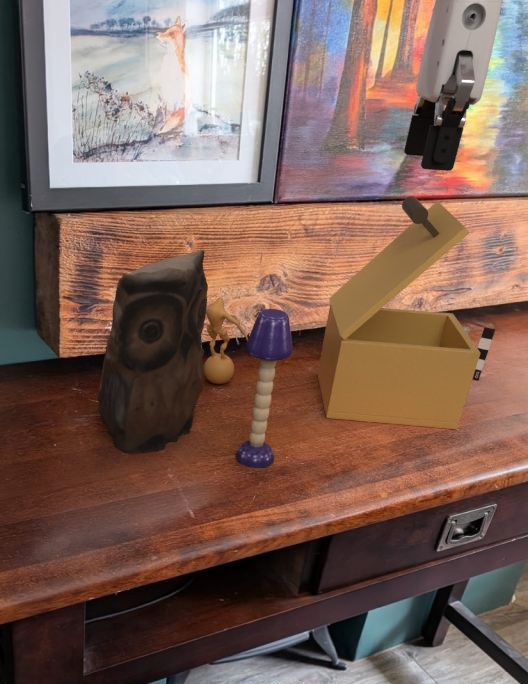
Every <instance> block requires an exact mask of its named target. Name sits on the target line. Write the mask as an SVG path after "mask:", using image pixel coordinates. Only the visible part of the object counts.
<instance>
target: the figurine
mask: <svg viewBox="0 0 528 684" xmlns="http://www.w3.org/2000/svg"><path fill="white" fill-rule="evenodd" d="M224 304H225V302H224V298H223V297H221V296H220V297H219V296H218V297H217V299H216V300H215V301H214V302H213V303H212V304H211V305H209V306H207V307H206V317H207V320H208V323H209V324H208V325H207V327H206V331H207V333H208V336H209V337H210V338H211V340H210V341H209V347H210V353H211V355H210V356H209V357H208V358H207V359H206V360H205V362H204V364H203V365H204V369H205V371H204V376H205V378H206V379H207V380H208V382H210V383H212V384H214V385H224V384H226V383H228V382H229V381H230V380H232V377H233V376H234V373H235V365H234V362H233V360H232V359H231V358H230V357H229V355H227V354H225V352H224V351H225V350H226V349H227V347H228V344H229V341H230V336H229V334H228V329H227V328H226V327H223V324H224V321H225V319H226V320H227V321H228V322H230V323H232V324H233V325H235V326H236V329H238V331H239V332H240V333H241V334H242V335H243V336H244V337H245V339H246V342H247V341H248V339H249V336H248V334H247V333H246V331H245V330H244V328H243V327H242V325H241V324H240V322H239V321H238V320H237V319H236V318H235V317H234V316H231V315H230V314H229V312H228V311H226V309H225V307H224V306H225V305H224ZM218 335H219V338H220V340H222V341H223V343H221V345H220V351H219V353H217V352H216V351H215V349H214V348H215V346H216V340H217V337H218Z"/></svg>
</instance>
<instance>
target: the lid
mask: <svg viewBox="0 0 528 684" xmlns="http://www.w3.org/2000/svg"><path fill="white" fill-rule="evenodd" d="M401 208H402V211H403V212H404V213H405V214H406V216H407V217H408V218H409V219H410V220H411V222H412V223H411V224H410V225H409V226H408V227H406V228H405V229H404V230H403V231H402V232H401V233H400V234H399V235H398V236H396V237H395V238H394V239H393V240H392V241H391V242H390V243H389V244H388V245H387V246H385V247H384V248H383V249H382V250H381V251H380V252H379V253H378V254H376V255H375V256H374V257H373V258H372V259H370V261H368V263H366V264H365V265H364V266H363V267H361V269H360V270H358V272H357V273H355V274H354V275H353V276H352V277H351V278H350V279H348V280H347V281H346V282H345V283H344V284H343V285H342V286H341V287H340V288H339V289H337V291H335V292H334V293H333V294H332V295H331V296H330V297H329V298H328V299H329V303H330V304H331V307H332V310H333V313H334V317H335V320H336V323H337V327H338V330H339V333H340V336H341V337H342V338H343V339H344V340H345V339H346V338H347V337H348V336H350V335H351V334H352V333H353V332H354V331H356V330H357V329H358V328H359V327H360V326H361V325H363V324H364V323H365V322H366V321H367V320H368V319H370V318H371V317H372V316H373V315H374V314H375V313H377V312H378V311H379V310H380V309H381V308H385V306H386V305H387V304H389V302H391V301H392V300H393V299H394V298H395V297H397V296H398V295H399V294H400V293H402V291H403V290H405V289H406V288H407V287H408V286H410V285H411V284H412V283H413V282H414V281H415V280H416V279H418V278H419V277H420V276H421V275H422V274H423V273H425V272H426V271H427V270H429V269H430V267H432V266H433V265H434V264H435V263H436V262H438V261H439V260H440V259H441V258H442V257H444V256H445V255H446V254H448V252H449V251H450V250H452V249H453V248H454V247H455V246H457V245H458V244H459V243H461V241H462V240H463V239H464V238H466V237H467V236H468V235H469V234H470V231H469V229H468V228H467V227H466V226H465V225H464V224H462V223H461V221H460V220H458V218H456V217H455V216H454V215H453V214H452V213H451V212H450V211H449V210H448V209H447V208H446V207H445V206H444V205H443V204H442V203H440V201H439V200H437V201H435V203H433V204H432V205H431V206H430V207H429V208H428V209H427V207H425V206H424V205H423V203H421V202H420V200H418V198H417V197H415V196H412V195H411V196H407V197H405V199H404V200H403V201H402V203H401Z"/></svg>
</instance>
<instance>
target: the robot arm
mask: <svg viewBox="0 0 528 684" xmlns="http://www.w3.org/2000/svg"><path fill="white" fill-rule="evenodd" d="M502 3H503V0H435V1H434V6H433V8H432V13H431V17H430V21H429V25H428V29H427V33H426V38H425V41H424V45H423V51H422V55H421V59H420V64H419V68H418V74H417V80H416V84H415V85H416V86H415V90H416V93H417V95H418V96H417V99H416V102H415V104H414V107H413V114H412V115H411V119H410V123H409V127H408V132H407V137H406V140H405V141H406V142H405V146H404V150H403V153H404V154H405V155H407V156H418V157H422V158H421V162H420V167H421V168H422V169H423V170H432V171H446V172H450V171H452V170H454V167H455V163H456V159H457V155H458V152H459V148H460V144H461V140H462V137H463V132H464V127H465V125H466V121H467V111H468V110H469V108H470V106H474V105H476V104H477V103H479V101H480V100H481V99H482V95H483V91H484V88H485V83H486V80H487V75H488V71H489V67H490V61H491V57H492V54H493V53H492V52H493V49H494V44H495V39H496V35H497V31H498V26H499V20H500V15H501V8H502Z"/></svg>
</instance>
